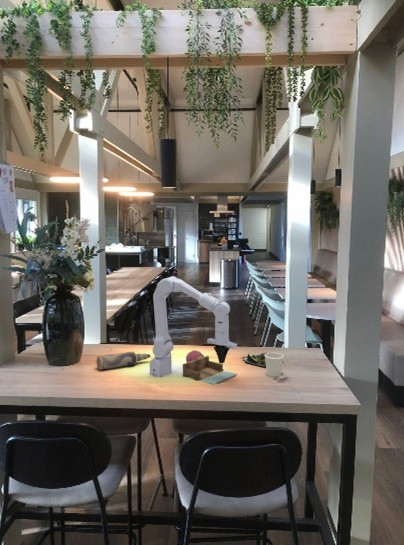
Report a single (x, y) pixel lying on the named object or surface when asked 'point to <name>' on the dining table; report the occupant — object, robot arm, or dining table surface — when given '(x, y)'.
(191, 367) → the cart bed
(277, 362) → the dixie cup
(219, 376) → the panel
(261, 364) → the salad plate
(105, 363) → the decorative bottle
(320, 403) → the dining table surface
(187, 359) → the cupcake
